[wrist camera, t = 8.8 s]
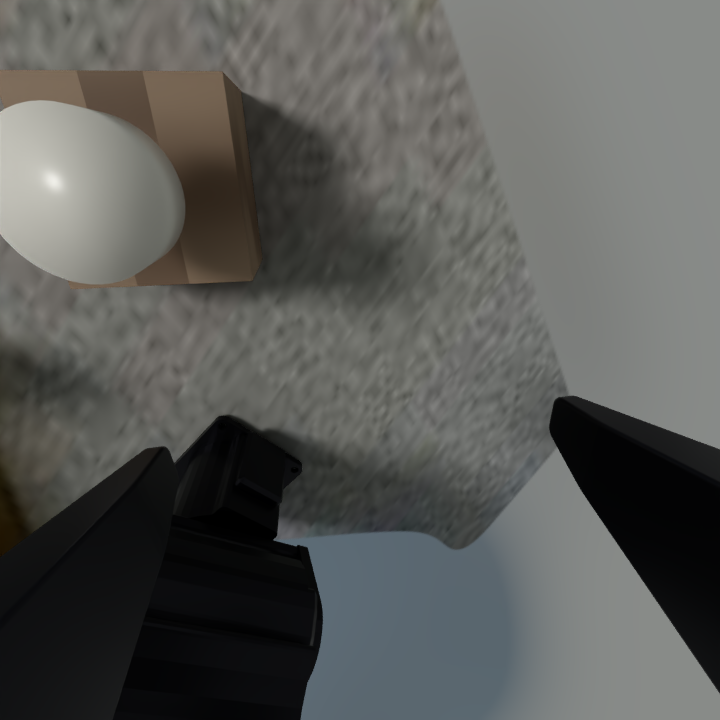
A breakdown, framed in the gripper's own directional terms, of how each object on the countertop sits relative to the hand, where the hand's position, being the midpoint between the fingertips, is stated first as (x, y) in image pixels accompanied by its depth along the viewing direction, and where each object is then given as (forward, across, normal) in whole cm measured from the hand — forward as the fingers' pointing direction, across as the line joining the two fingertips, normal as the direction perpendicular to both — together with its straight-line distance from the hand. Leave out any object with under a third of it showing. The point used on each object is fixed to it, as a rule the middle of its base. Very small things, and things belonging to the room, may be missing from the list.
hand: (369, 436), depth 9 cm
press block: (+13, +7, -5) cm, 16 cm away
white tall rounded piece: (+13, +7, -5) cm, 16 cm away
